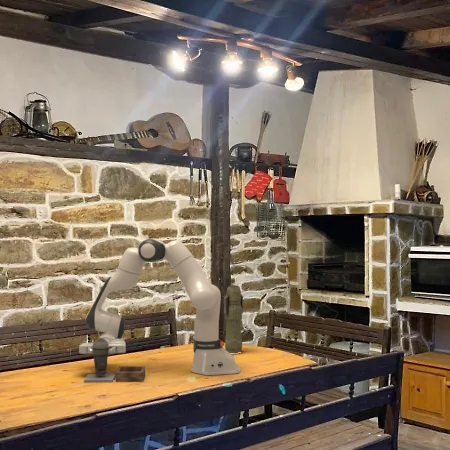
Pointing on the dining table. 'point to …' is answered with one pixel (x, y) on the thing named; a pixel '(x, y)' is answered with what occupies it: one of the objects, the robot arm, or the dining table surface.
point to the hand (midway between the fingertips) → (100, 351)
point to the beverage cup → (100, 356)
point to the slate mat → (100, 377)
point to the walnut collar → (130, 374)
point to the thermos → (233, 319)
